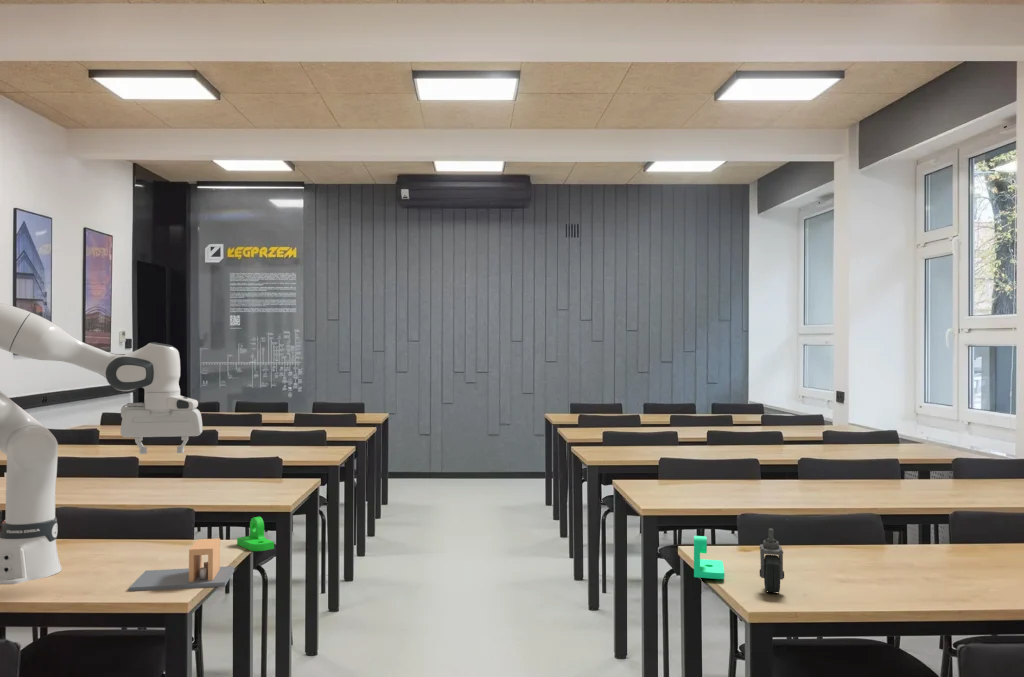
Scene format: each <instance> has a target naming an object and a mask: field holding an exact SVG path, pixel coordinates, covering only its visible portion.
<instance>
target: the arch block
mask: <svg viewBox="0 0 1024 677" xmlns="http://www.w3.org/2000/svg"><path fill="white" fill-rule="evenodd" d="M188 550H189V551H188V568H189V582H194V580H195V579H196V577H197V576H198V575H199V573H200V568H202V567H203V556H207V562H208V581H212V580H213V579H214V577H215V576H216V574H217V573H218V571H219V570H220V567H221V538H203V539H202V538H201V539H197V540H196V541H195V542H194V543H193V545H191V547H190V548H189V549H188Z"/></svg>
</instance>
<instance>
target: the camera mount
mask: <svg viewBox="0 0 1024 677" xmlns="http://www.w3.org/2000/svg"><path fill="white" fill-rule="evenodd" d="M707 546H708V538H707V536H704V535H702V536H701V535H693V577H694V578H698V579H699V578H702V579H715V580H724V579H725V567H724V562H723V560H719V559H704V558H701V554H707V553H708V547H707Z"/></svg>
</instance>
